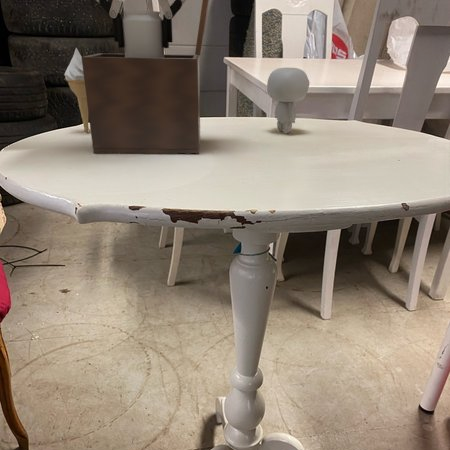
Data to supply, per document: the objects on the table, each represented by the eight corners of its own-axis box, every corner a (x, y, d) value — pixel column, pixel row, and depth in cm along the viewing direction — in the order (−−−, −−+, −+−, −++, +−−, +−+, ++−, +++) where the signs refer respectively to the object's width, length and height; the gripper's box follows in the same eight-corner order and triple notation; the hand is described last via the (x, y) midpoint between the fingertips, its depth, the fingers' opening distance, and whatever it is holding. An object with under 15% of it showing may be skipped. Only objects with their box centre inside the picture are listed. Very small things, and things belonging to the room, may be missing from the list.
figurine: (310, 134, 95) (317, 68, 89) (278, 137, 92) (282, 69, 86) (289, 127, 101) (294, 66, 95) (259, 130, 98) (262, 66, 92)
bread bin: (93, 153, 78) (81, 56, 71) (107, 138, 89) (98, 53, 82) (198, 154, 78) (197, 58, 71) (200, 139, 89) (199, 54, 82)
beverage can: (123, 95, 77) (115, 9, 71) (134, 91, 82) (128, 11, 76) (160, 96, 76) (156, 10, 70) (170, 92, 82) (166, 11, 76)
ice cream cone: (69, 134, 91) (56, 47, 84) (76, 129, 96) (64, 46, 88) (98, 135, 91) (88, 48, 84) (103, 130, 96) (94, 47, 89)
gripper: (67, -103, 63) (85, 47, 72) (194, -100, 64) (197, 49, 73) (80, -90, 70) (95, 46, 79) (196, -88, 70) (198, 47, 79)
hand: (144, 46), depth 76 cm, fingers closed on beverage can, 6 cm apart
